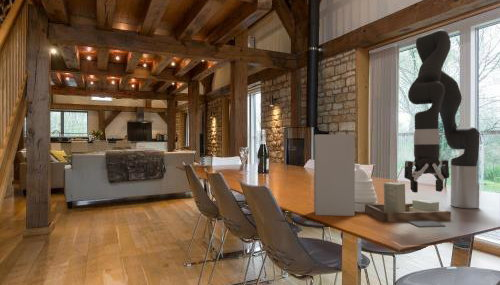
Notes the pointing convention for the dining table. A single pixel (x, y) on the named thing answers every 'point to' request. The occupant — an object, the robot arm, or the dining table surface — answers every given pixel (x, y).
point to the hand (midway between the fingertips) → (426, 191)
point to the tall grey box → (334, 175)
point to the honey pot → (363, 189)
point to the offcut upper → (425, 205)
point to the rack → (405, 214)
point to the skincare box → (394, 197)
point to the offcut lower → (416, 210)
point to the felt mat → (425, 223)
